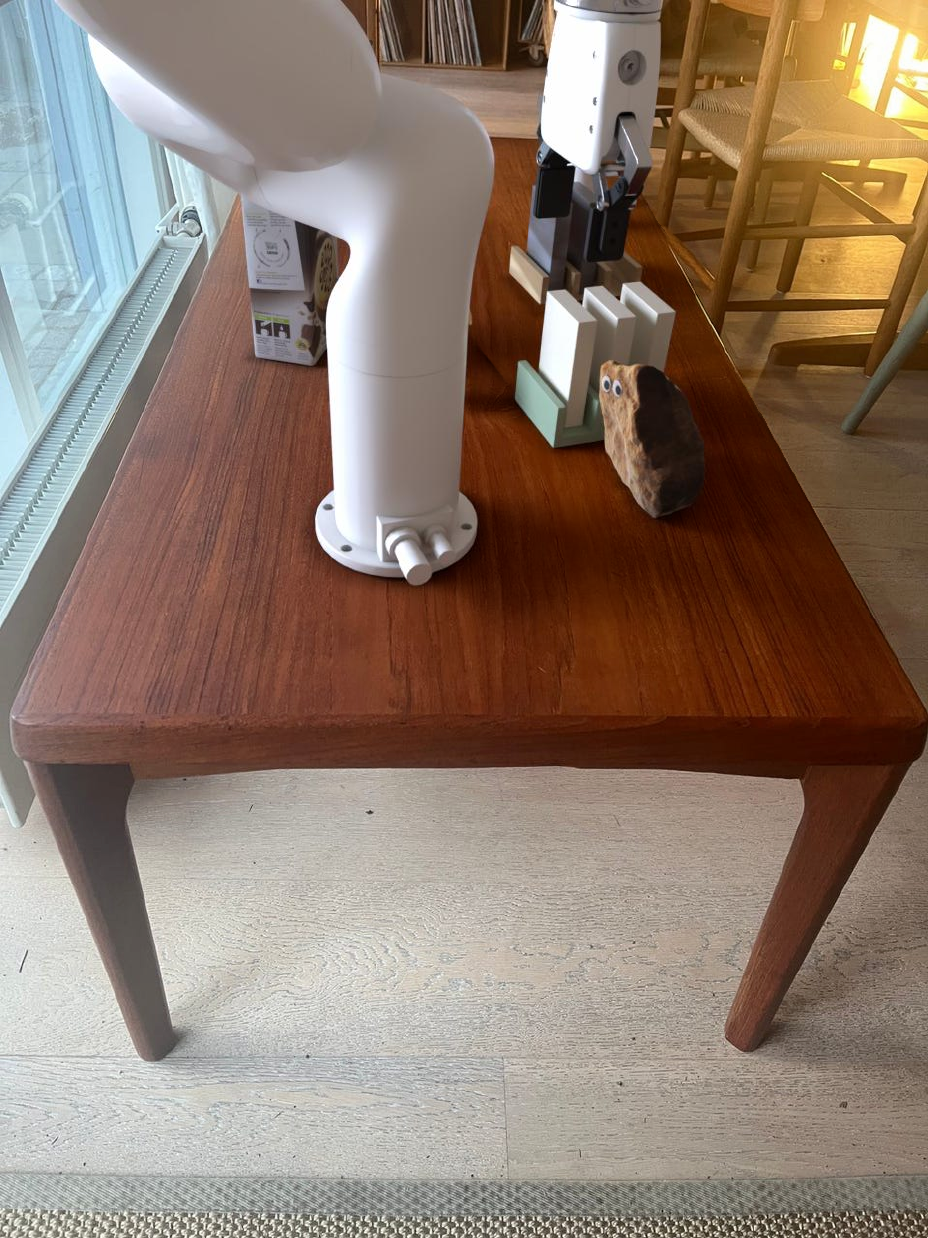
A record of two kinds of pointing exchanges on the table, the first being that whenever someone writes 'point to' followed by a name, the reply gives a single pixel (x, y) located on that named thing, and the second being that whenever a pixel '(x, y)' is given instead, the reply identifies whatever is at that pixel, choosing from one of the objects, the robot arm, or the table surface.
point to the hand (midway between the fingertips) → (575, 237)
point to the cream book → (567, 352)
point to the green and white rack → (601, 359)
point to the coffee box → (288, 284)
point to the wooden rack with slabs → (567, 255)
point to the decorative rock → (651, 437)
